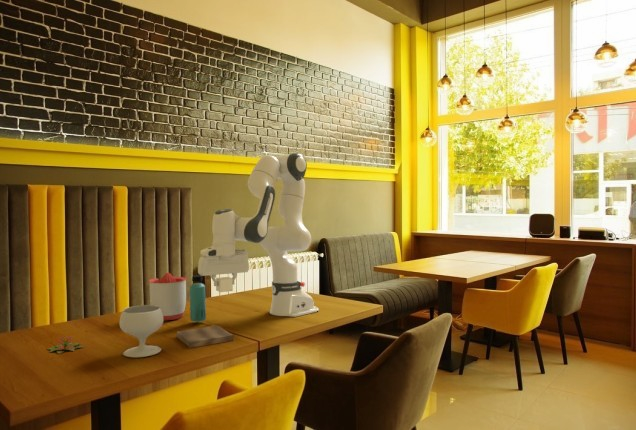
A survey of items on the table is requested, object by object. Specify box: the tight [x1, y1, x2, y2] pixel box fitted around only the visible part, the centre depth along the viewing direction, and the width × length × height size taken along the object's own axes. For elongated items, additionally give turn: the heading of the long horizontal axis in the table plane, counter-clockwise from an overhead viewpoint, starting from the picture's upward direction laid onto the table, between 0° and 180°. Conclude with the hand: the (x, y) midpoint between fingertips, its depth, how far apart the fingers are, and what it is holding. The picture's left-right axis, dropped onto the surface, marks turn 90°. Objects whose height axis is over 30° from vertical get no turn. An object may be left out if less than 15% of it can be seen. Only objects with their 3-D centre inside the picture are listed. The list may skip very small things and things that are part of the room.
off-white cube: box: [215, 276, 234, 293], centre depth 191 cm, size 5×5×5 cm
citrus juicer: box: [148, 272, 187, 322], centre depth 211 cm, size 16×17×20 cm
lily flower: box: [48, 335, 84, 354], centre depth 169 cm, size 12×12×5 cm
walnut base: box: [176, 325, 234, 349], centre depth 179 cm, size 16×16×2 cm
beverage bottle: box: [189, 274, 207, 323], centre depth 201 cm, size 6×7×20 cm
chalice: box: [119, 304, 164, 358], centre depth 163 cm, size 14×14×15 cm
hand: (224, 285), depth 191 cm, fingers closed on off-white cube, 5 cm apart
